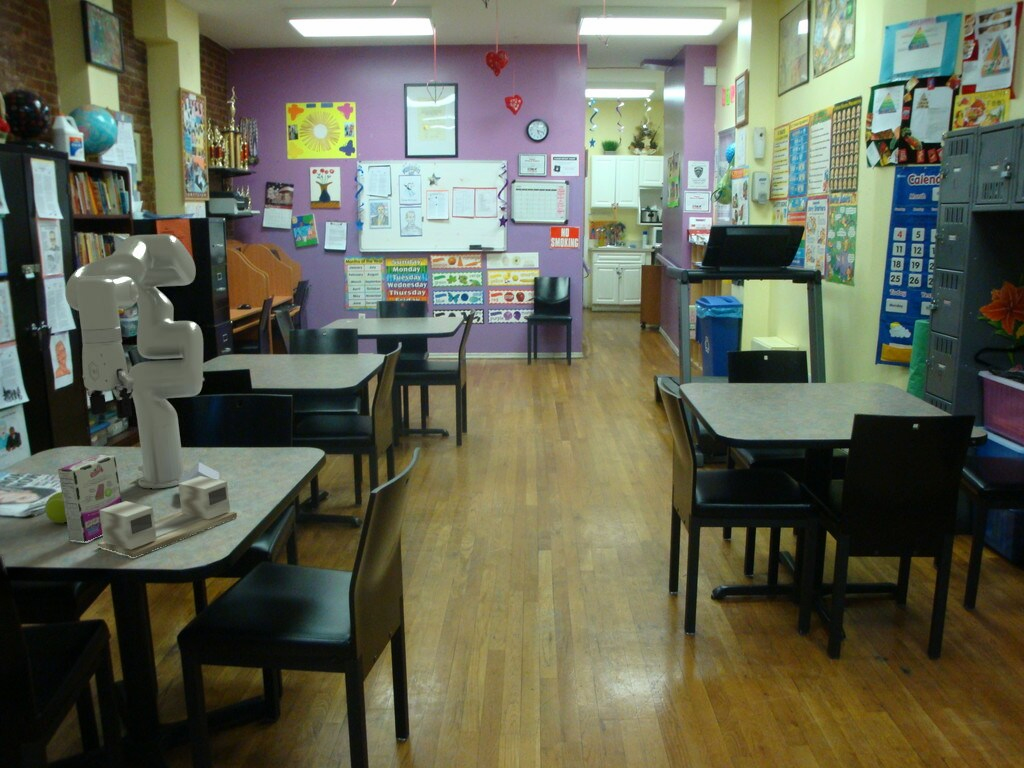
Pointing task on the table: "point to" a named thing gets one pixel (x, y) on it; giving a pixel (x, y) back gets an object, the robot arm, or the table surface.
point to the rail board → (139, 534)
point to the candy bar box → (89, 494)
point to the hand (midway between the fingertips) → (111, 415)
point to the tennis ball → (56, 508)
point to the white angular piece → (200, 472)
